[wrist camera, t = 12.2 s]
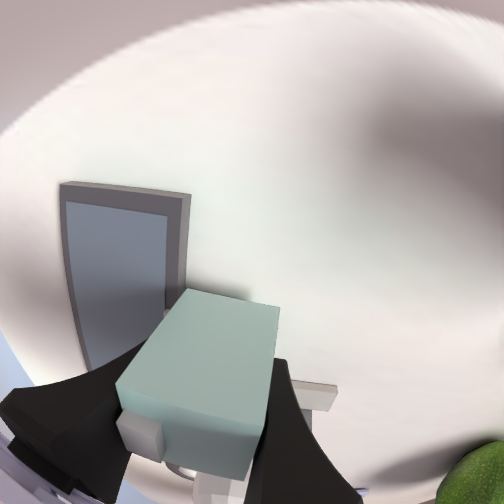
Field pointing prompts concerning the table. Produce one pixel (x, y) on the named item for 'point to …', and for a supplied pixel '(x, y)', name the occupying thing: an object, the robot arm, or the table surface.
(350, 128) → the table surface
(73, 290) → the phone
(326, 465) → the robot arm
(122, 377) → the plug block
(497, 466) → the fruit
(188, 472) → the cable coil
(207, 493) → the capsule
